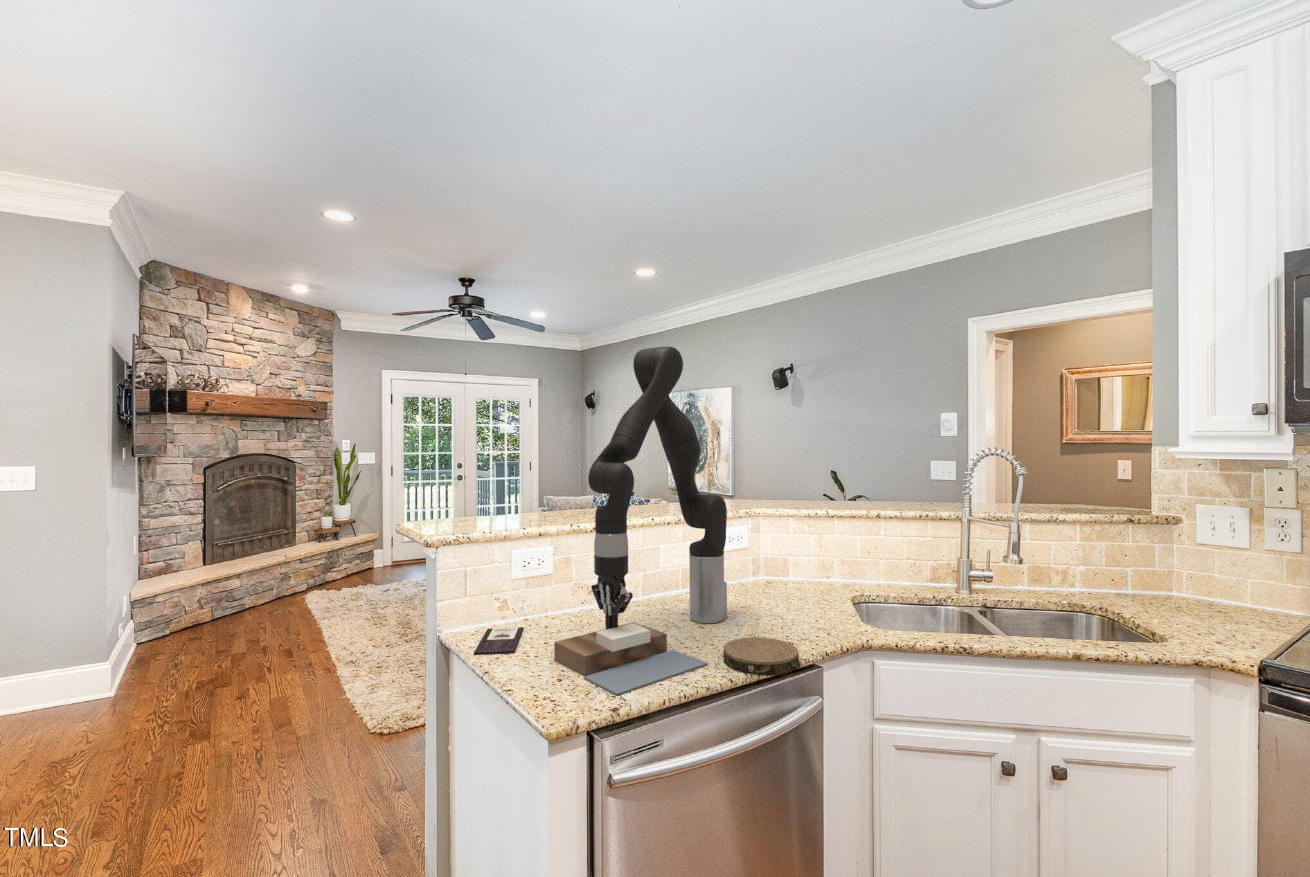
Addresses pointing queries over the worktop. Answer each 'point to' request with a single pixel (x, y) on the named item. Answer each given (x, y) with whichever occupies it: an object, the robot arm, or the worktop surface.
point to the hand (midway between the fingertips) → (611, 631)
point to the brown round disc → (761, 656)
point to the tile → (623, 637)
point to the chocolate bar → (499, 641)
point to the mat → (644, 672)
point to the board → (604, 652)
